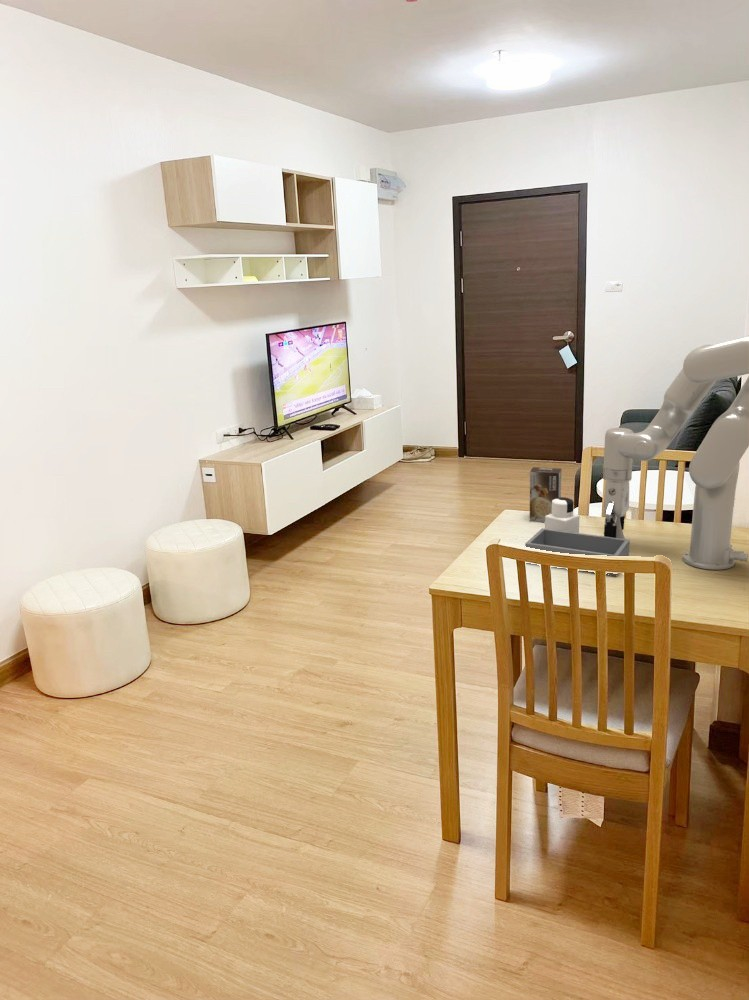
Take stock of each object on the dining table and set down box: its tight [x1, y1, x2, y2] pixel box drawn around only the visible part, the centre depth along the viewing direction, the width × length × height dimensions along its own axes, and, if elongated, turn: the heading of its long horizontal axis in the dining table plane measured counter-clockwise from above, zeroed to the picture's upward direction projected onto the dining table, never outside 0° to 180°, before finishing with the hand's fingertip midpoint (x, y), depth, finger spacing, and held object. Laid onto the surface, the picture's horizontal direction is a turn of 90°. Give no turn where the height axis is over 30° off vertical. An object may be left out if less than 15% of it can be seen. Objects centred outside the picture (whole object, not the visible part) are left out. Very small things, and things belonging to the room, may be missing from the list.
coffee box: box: [529, 466, 562, 523], centre depth 242 cm, size 9×6×16 cm
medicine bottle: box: [544, 496, 581, 533], centre depth 225 cm, size 7×7×12 cm
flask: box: [611, 513, 626, 539], centre depth 217 cm, size 7×7×10 cm
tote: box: [524, 527, 631, 578], centre depth 208 cm, size 24×14×6 cm, turn 60°
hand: (613, 533), depth 218 cm, fingers open, 8 cm apart
